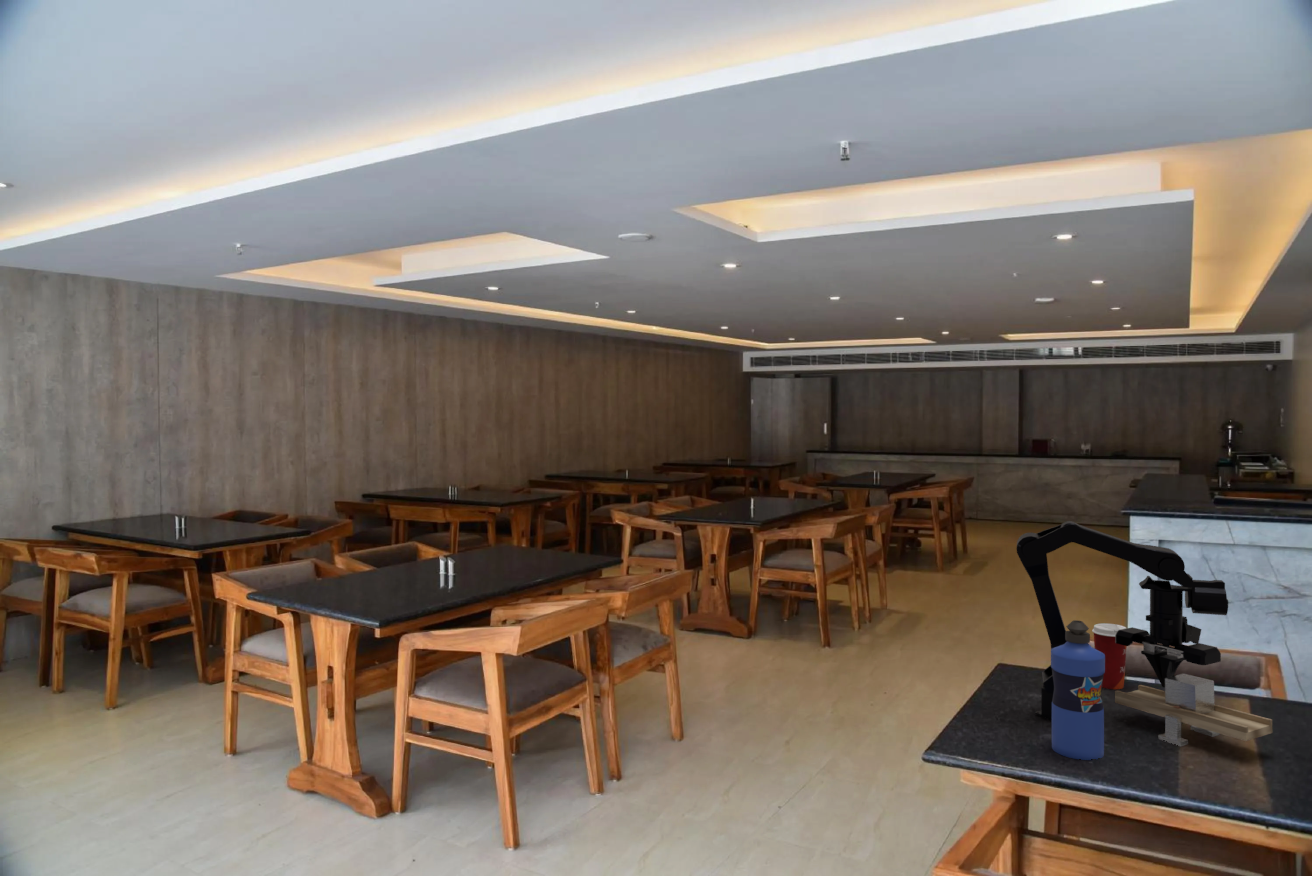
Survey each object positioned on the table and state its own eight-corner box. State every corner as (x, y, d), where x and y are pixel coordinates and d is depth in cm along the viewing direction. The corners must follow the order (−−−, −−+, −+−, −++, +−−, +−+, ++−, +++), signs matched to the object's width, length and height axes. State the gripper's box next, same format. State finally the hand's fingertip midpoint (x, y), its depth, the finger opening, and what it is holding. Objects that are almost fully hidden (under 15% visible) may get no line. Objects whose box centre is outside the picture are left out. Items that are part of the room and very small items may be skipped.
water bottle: (1116, 758, 163) (1116, 626, 162) (1070, 762, 161) (1070, 629, 160) (1083, 739, 172) (1083, 614, 171) (1040, 743, 170) (1040, 617, 169)
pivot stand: (1180, 746, 167) (1180, 721, 167) (1158, 739, 171) (1158, 714, 171) (1219, 734, 173) (1219, 710, 173) (1197, 727, 177) (1197, 703, 177)
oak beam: (1245, 745, 158) (1245, 726, 158) (1115, 706, 182) (1114, 690, 182) (1272, 737, 162) (1272, 718, 162) (1141, 700, 186) (1140, 683, 185)
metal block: (1195, 716, 168) (1195, 685, 168) (1165, 708, 173) (1165, 678, 173) (1214, 711, 171) (1213, 680, 171) (1184, 703, 176) (1183, 673, 176)
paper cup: (1135, 690, 200) (1135, 630, 199) (1101, 691, 200) (1101, 631, 200) (1118, 680, 208) (1118, 622, 207) (1085, 680, 208) (1085, 622, 207)
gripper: (1237, 616, 171) (1237, 694, 171) (1147, 598, 188) (1147, 669, 188) (1203, 623, 166) (1202, 703, 166) (1113, 604, 183) (1113, 677, 183)
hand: (1165, 687), depth 176 cm, fingers closed
